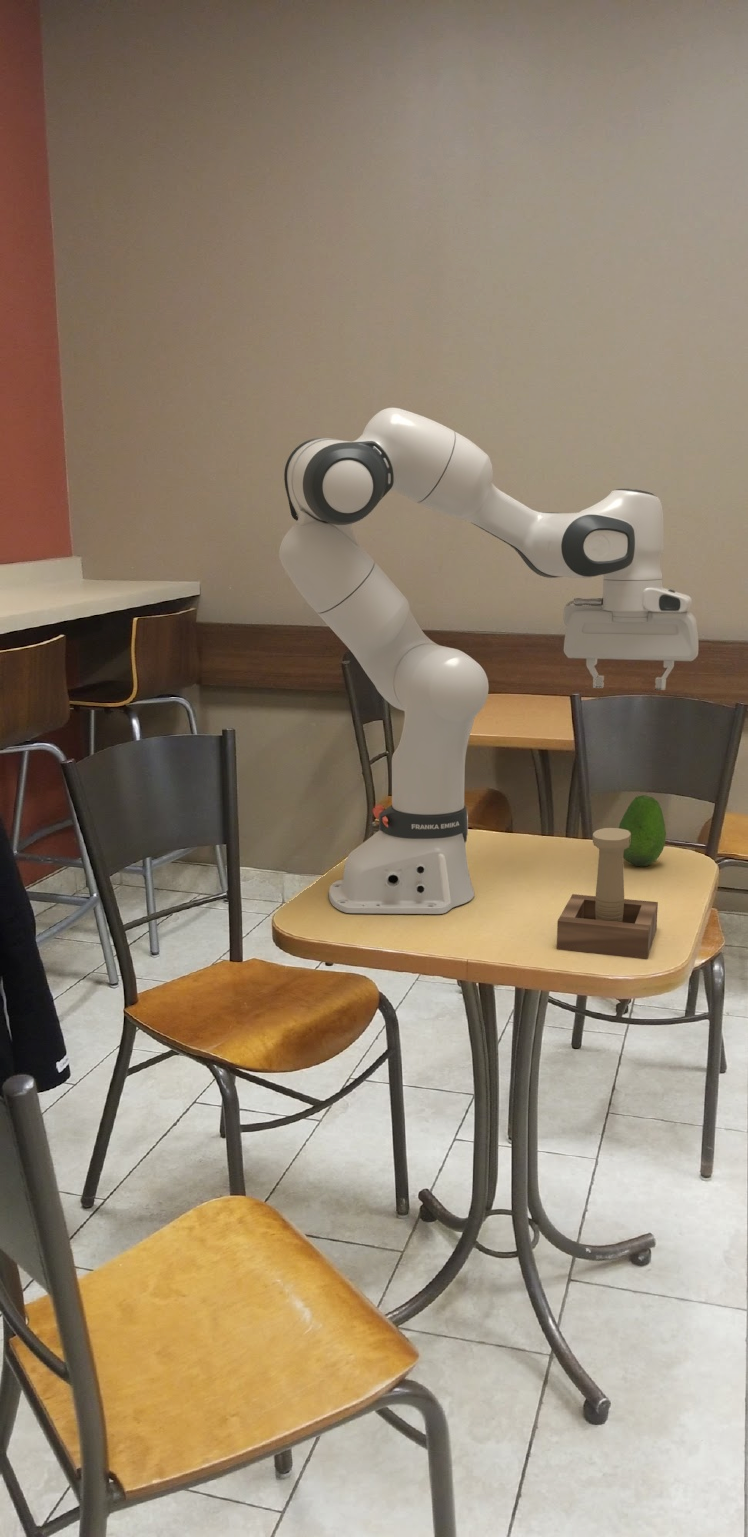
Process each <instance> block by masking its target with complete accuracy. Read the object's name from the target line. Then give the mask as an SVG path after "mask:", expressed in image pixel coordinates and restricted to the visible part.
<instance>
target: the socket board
mask: <svg viewBox="0 0 748 1537" xmlns="http://www.w3.org/2000/svg"><path fill="white" fill-rule="evenodd" d="M570 896H571V897H570V898H569V900H568V901H567V902H566V905H565V906H564V908H563V910H562V912H561V914H560V915H559V917H558V919H557V923H556V924H557V926H556V927H557V928H556V929H557V930H556V950H563V951H572V952H582V953H590V954H598V955H599V954H600V955H607V956H615V957H616V956H618V957H624V958H625V957H627V958H636V959H637V958H638V959H645V960H648V958H649V955H650V952H651V948H652V946H653V942H654V939H655V936H656V932H657V929H658V911H659V910H658V906H659V905H658V904H659V902H658V901H649V900H640V899H629V898H624V912H623V921H622V922H614V921H604V920H596V915H595V912H596V911H595V903H596V902H595V898H596V897H595V896H596V895H585V894H576V893H575V894H574V893H572V894H571V895H570Z"/></svg>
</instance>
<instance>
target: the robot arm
mask: <svg viewBox="0 0 748 1537" xmlns="http://www.w3.org/2000/svg"><path fill="white" fill-rule="evenodd" d="M283 473H284V474H283V475H284V476H283V477H284V478H283V480H284V481H283V482H284V488H285V492H286V493H285V494H286V496H287V500H288V504H289V509H290V515H291V517H292V518H293V519H294V520H295V521H296V522H295V524H294V525H292V526H291V528H290V529H288V531H287V532H286V534H285V535H284V537H283V538H282V540H281V543H280V547H279V552H278V557H279V561H280V563H281V566H282V568H284V570H285V572H286V575H287V576H288V577H289V579H290V580H291V582H292V583H293V585H294V586H295V588H296V589H297V591H298V593H300V595H301V596H302V597H303V599H305V601H306V602H307V604H308V605H309V606H310V608H312V609H313V611H315V613H316V614H317V615H318V616H319V617H320V618H321V619H322V620H323V622H324V623H325V624H326V625H327V626H328V627H329V629H330V630H332V632H334V634H335V635H336V636H337V637H338V638H339V639H340V640H341V642H342V643H343V644H344V645H345V646H346V647H347V648H348V650H350V652H351V653H352V654H353V656H354V658H355V659H356V660H357V662H358V663H359V664H360V666H361V668H362V669H363V671H364V672H365V674H366V675H367V677H368V678H369V680H370V681H371V682H372V684H373V685H374V686H375V689H376V690H377V692H378V693H379V694H380V695H381V697H383V699H384V700H385V701H386V702H388V704H390V705H391V706H392V707H394V708H395V709H397V710H400V711H403V712H404V722H403V727H402V731H401V735H400V738H399V739H400V741H399V743H398V746H397V748H396V750H394V752H393V754H392V756H391V757H392V758H391V803H392V804H390V805H389V806H388V807H384V805H383V804H377V805H375V806H374V807H373V809H372V813H373V815H374V817H375V818H376V819H377V820H378V829H379V830H378V831H377V832H376V833H374V834H373V835H371V837H369V838H368V839H366V840H365V841H364V842H363V843H360V844H359V846H357V847H356V848H355V849H353V850H352V851H351V852H350V853H349V854H348V856H347V858H346V861H345V864H344V869H343V872H342V873H343V875H342V879H340V880H339V879H338V880H336V881H334V882H333V883H331V885H330V886H329V889H328V898H329V902H330V903H331V906H333V907H334V908H335V909H337V910H338V911H340V912H343V913H347V914H391V915H393V914H403V915H404V914H405V915H406V914H409V915H411V914H414V915H415V914H417V915H419V914H420V915H427V914H428V915H441V914H446V913H447V912H449V911H450V910H452V909H453V908H455V907H458V906H461V905H463V904H466V903H468V902H470V901H472V900H473V899H474V897H475V891H474V888H473V884H472V881H471V876H470V872H469V871H470V870H469V865H468V859H467V857H468V856H467V848H466V843H467V840H468V839H467V838H468V834H469V815H468V814H469V813H468V807H467V806H466V805H465V776H466V773H465V772H466V771H465V769H466V767H465V766H466V757H467V756H466V755H467V749H468V746H469V741H470V737H471V736H470V735H471V731H472V728H473V725H474V721H475V719H476V716H477V715H478V714H479V713H480V712H481V710H482V709H483V708H484V706H485V704H486V702H487V700H488V696H489V689H490V688H489V686H490V685H489V679H488V676H487V674H486V671H485V670H484V668H483V667H482V665H480V664H479V663H478V662H477V661H476V660H475V659H474V658H472V657H471V656H470V655H468V654H467V653H465V652H464V651H462V650H460V649H458V648H453V647H448V646H443V645H440V644H438V643H436V642H434V641H433V640H432V639H430V638H429V636H427V635H426V634H425V633H424V632H423V630H422V629H421V627H420V625H419V624H418V622H417V620H416V618H415V617H414V615H413V612H412V611H411V607H410V602H409V601H408V599H407V597H406V596H405V595H404V594H403V593H402V592H401V591H400V589H399V588H398V587H397V586H396V585H395V583H394V582H393V581H392V580H391V579H390V578H389V577H388V575H387V574H386V573H385V572H384V571H383V569H382V568H380V566H379V565H378V564H377V562H375V560H374V559H373V558H372V557H371V556H370V554H369V553H368V552H366V550H365V549H364V548H363V547H362V545H360V543H359V541H358V540H357V538H356V536H355V534H354V531H353V526H352V524H355V523H357V522H360V521H362V520H363V519H365V518H366V517H368V515H369V514H371V513H372V511H374V509H375V508H376V507H377V505H378V504H379V503H380V501H381V500H382V499H383V498H384V497H385V496H386V495H387V494H388V493H389V492H390V491H393V492H395V493H399V494H401V495H402V496H404V497H407V498H408V499H410V500H412V501H413V502H415V503H417V504H418V505H421V506H423V507H425V508H426V509H430V510H432V511H434V512H437V513H439V514H442V515H444V516H447V517H451V518H454V519H455V518H456V519H458V520H461V521H465V522H469V523H470V524H473V525H474V526H476V527H478V528H480V529H481V530H483V531H484V532H486V533H488V534H490V535H491V536H493V537H495V538H497V539H499V540H500V541H502V542H504V543H505V544H507V545H509V546H510V547H511V548H512V549H514V550H515V552H516V553H517V554H518V555H519V556H520V557H521V559H522V560H523V561H524V563H525V565H526V566H527V567H528V569H530V570H531V571H532V572H533V573H535V574H537V575H538V576H541V577H543V578H549V579H554V578H555V579H556V578H571V579H572V578H575V579H577V578H578V579H591V578H596V577H599V576H601V575H602V577H603V578H602V579H603V580H602V597H600V598H598V597H596V598H595V597H592V598H582V597H577V598H574V599H573V600H571V601H569V602H567V603H566V604H565V606H564V608H563V622H564V624H565V626H566V629H565V635H564V642H563V653H564V655H566V657H567V659H586V660H585V662H586V663H585V664H586V668H587V670H588V671H589V673H590V675H591V676H592V688H593V689H594V688H595V689H603V688H604V685H605V682H604V680H605V675H600V674H599V673H598V671H597V668H596V667H595V666H596V665H597V664H598V659H599V660H630V661H631V660H632V661H633V660H634V661H635V660H636V661H637V660H639V661H663V668H664V669H666V670H665V671H664V673H663V674H662V676H661V677H659V676H657V677H655V679H654V680H655V681H654V683H655V685H654V689H655V690H654V691H665V690H666V686H667V685H666V684H667V678H668V677H669V675H670V674H671V672H672V670H673V669H674V667H675V662H676V661H677V662H692V661H694V660H695V659H696V658H697V657H698V655H699V633H698V631H699V630H698V624H697V619H696V617H695V616H694V615H693V613H692V612H690V610H691V609H692V605H693V603H692V602H693V600H692V597H691V596H690V595H688V594H685V593H683V592H678V591H676V590H674V589H668V588H667V587H666V588H665V587H664V586H663V573H662V568H661V567H662V566H661V561H662V557H663V553H664V550H665V520H664V510H663V509H664V508H663V504H662V501H661V499H660V498H659V497H658V496H657V495H655V493H652V492H650V491H647V490H646V491H645V490H640V489H636V488H635V489H631V488H616V489H613V490H612V491H611V492H610V493H609V494H608V495H607V496H606V497H605V498H603V499H602V500H600V501H598V502H596V503H594V504H593V505H592V506H589V507H587V508H585V509H582V510H580V511H579V512H569V513H568V512H567V513H566V512H564V513H563V512H552V511H551V512H550V511H549V512H548V511H547V512H546V511H545V512H544V511H542V512H541V511H537V510H534V509H532V508H530V507H528V506H527V505H525V504H523V503H522V502H520V501H519V500H517V499H515V498H513V497H512V496H510V495H508V494H507V493H505V492H504V491H502V490H500V489H499V488H498V487H496V486H495V484H494V483H493V481H494V470H493V464H492V461H491V458H490V456H489V455H488V453H486V452H485V451H484V450H483V449H482V448H480V447H479V446H478V445H477V444H475V442H473V441H471V440H470V439H469V438H467V437H465V436H464V435H462V434H461V433H458V432H456V431H455V430H453V429H451V428H450V427H448V426H445V425H443V424H441V423H439V422H437V421H435V420H433V419H430V418H429V417H425V416H423V415H422V414H421V415H420V414H417V413H415V412H411V411H408V410H405V409H402V408H399V407H387V408H384V409H382V410H380V411H378V412H377V413H376V414H375V415H374V416H372V417H371V418H370V419H369V421H368V423H367V424H366V426H365V427H364V429H363V432H362V434H361V435H360V436H359V437H358V438H357V439H355V440H353V441H352V440H351V441H349V440H342V439H338V438H329V437H317V438H311V439H308V440H306V441H304V442H302V443H301V444H298V445H297V447H295V449H293V451H292V452H291V453H290V455H289V457H288V458H287V460H286V463H285V466H284V472H283Z"/></svg>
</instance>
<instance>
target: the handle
mask: <svg viewBox="0 0 748 1537" xmlns="http://www.w3.org/2000/svg"><path fill="white" fill-rule="evenodd" d="M630 842H631V833H630V832H629V831H628V830H625V829H619V827H616V828H615V827H604V828H603V827H602V828H600V829H597V830H595V831H594V832H593V833H592V844H593V846H594V847H596V848H597V849H598V864H597V878H596V887H595V889H596V890H595V895H594V896H595V897H596V898H595V902H596V903H595V911H596V912H595V915H596V920H604V921H614V922H622V921H623V912H624V899H625V878H624V877H625V876H624V875H625V874H624V871H625V870H624V858H623V853H624V849H626V848H628V847H629V846H630Z"/></svg>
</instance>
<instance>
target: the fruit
mask: <svg viewBox="0 0 748 1537" xmlns="http://www.w3.org/2000/svg"><path fill="white" fill-rule="evenodd" d="M618 828H619V829H625V830H628V831H629V832H630V833H631V842H630V846H629V847H628V848H626V849H624V853H623V860H624V861H626V863H629V864H630V865H632V866H636V867H646V866H650V865H652V864H654V863H655V862H656V861H657V860H658V859H659V857H660V856H661V854H662V853H663V851H664V848H665V845H666V834H667V833H666V832H667V831H666V825H665V820H664V814H663V810H662V808H661V806H660V803H659V801H658V800H656V799H655V798H654V797H653V796H649V795H644V794H643V795H640V796H639V795H638V796H636V797H635V798H633V800H632V801H631V802H630V804H629V806H628V808H627V809H626V810H625V813H624V814H623V815H622V819H621V820H620V822H619V826H618Z"/></svg>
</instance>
